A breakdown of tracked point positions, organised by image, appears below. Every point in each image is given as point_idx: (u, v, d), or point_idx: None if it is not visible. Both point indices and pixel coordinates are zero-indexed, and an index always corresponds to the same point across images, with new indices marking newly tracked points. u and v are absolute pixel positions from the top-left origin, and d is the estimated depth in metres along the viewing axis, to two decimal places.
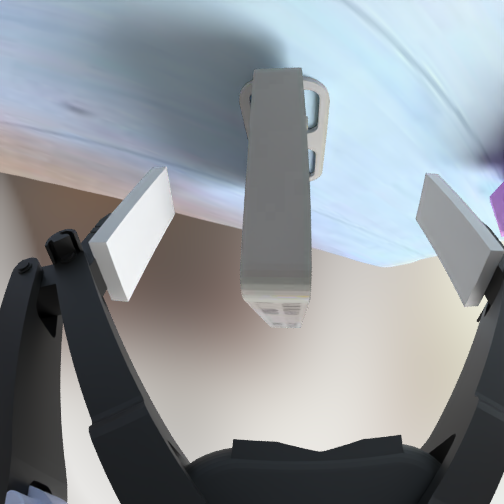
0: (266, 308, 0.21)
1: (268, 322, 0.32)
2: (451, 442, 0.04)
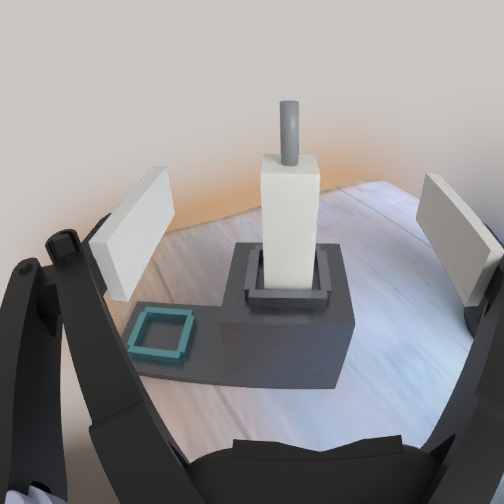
0: None
1: None
2: (451, 442, 0.04)
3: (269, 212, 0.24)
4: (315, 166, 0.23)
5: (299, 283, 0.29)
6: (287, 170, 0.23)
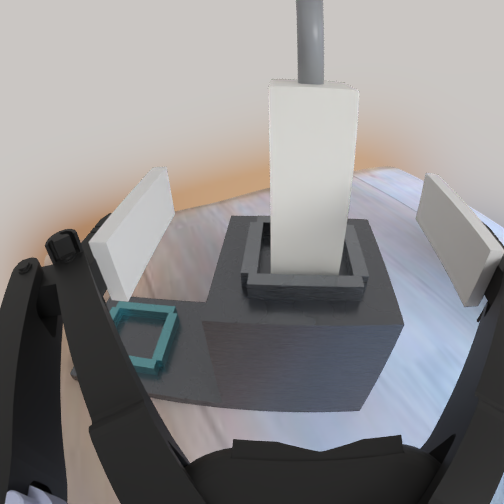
0: None
1: None
2: (451, 442, 0.04)
3: (281, 149, 0.15)
4: (349, 86, 0.14)
5: (322, 265, 0.19)
6: (309, 85, 0.14)
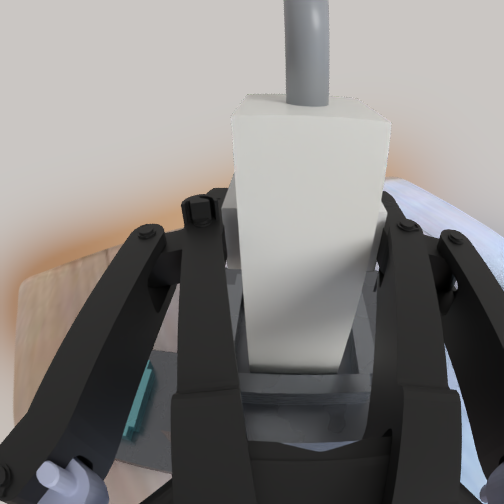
0: None
1: None
2: (390, 434, 0.05)
3: (257, 220, 0.10)
4: (370, 110, 0.09)
5: (317, 359, 0.14)
6: (304, 111, 0.08)
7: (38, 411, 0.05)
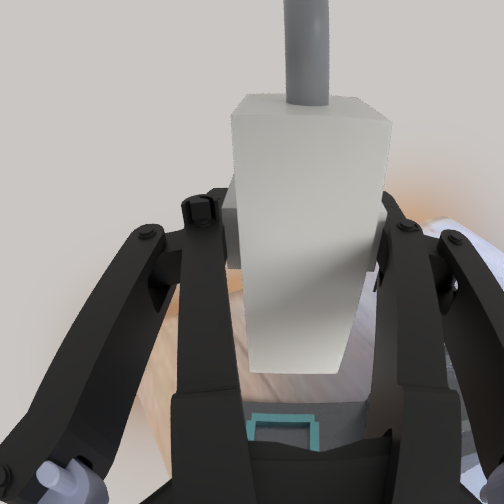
0: None
1: None
2: (390, 434, 0.05)
3: (256, 220, 0.10)
4: (370, 109, 0.09)
5: (317, 359, 0.14)
6: (304, 110, 0.08)
7: (38, 411, 0.05)
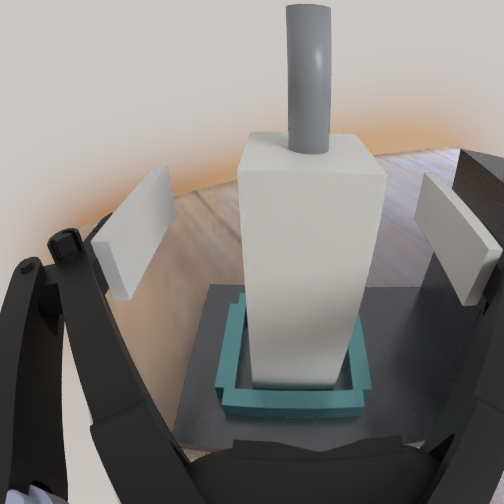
0: None
1: None
2: (450, 442, 0.04)
3: (260, 262, 0.11)
4: (368, 156, 0.10)
5: (315, 377, 0.15)
6: (306, 162, 0.09)
7: None
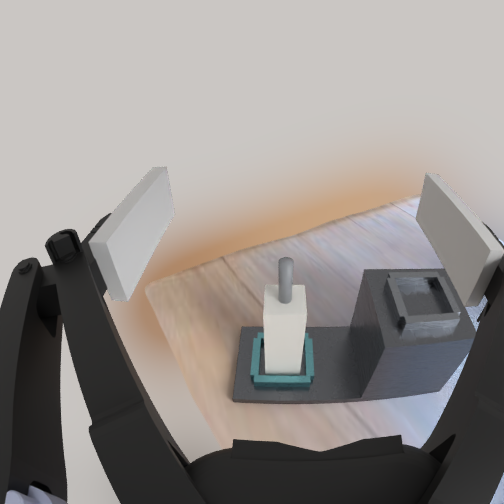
0: None
1: None
2: (451, 442, 0.04)
3: (269, 334, 0.33)
4: (304, 302, 0.32)
5: (290, 370, 0.37)
6: (283, 309, 0.31)
7: None
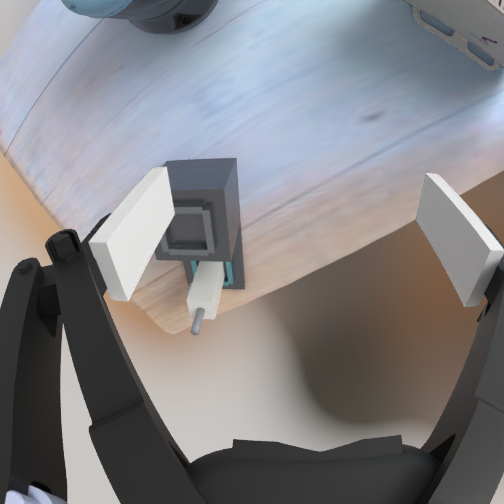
0: (497, 1, 0.14)
1: None
2: (451, 442, 0.04)
3: (217, 303, 0.56)
4: (202, 302, 0.52)
5: (222, 266, 0.61)
6: (209, 311, 0.53)
7: None
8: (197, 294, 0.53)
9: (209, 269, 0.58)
